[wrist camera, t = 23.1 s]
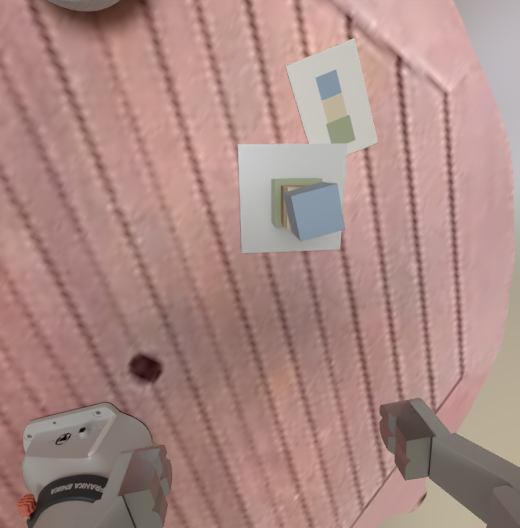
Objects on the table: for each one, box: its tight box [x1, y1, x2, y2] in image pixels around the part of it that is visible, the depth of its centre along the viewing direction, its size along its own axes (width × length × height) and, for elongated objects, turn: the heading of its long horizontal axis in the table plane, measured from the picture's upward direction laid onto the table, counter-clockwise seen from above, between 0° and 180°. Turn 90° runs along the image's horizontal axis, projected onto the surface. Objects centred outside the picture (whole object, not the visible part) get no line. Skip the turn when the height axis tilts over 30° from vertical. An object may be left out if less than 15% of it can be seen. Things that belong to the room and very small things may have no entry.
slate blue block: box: [283, 182, 345, 242], centre depth 33 cm, size 5×5×5 cm
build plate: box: [238, 143, 348, 253], centre depth 43 cm, size 16×16×5 cm
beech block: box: [281, 185, 309, 229], centre depth 38 cm, size 5×5×5 cm
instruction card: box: [286, 38, 378, 155], centre depth 42 cm, size 10×14×1 cm
